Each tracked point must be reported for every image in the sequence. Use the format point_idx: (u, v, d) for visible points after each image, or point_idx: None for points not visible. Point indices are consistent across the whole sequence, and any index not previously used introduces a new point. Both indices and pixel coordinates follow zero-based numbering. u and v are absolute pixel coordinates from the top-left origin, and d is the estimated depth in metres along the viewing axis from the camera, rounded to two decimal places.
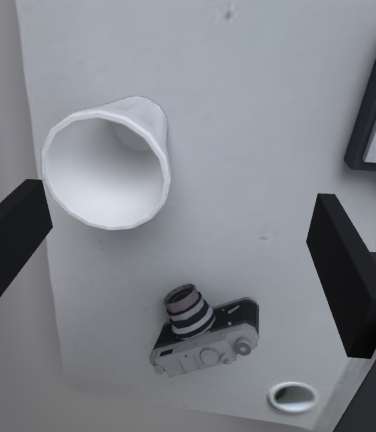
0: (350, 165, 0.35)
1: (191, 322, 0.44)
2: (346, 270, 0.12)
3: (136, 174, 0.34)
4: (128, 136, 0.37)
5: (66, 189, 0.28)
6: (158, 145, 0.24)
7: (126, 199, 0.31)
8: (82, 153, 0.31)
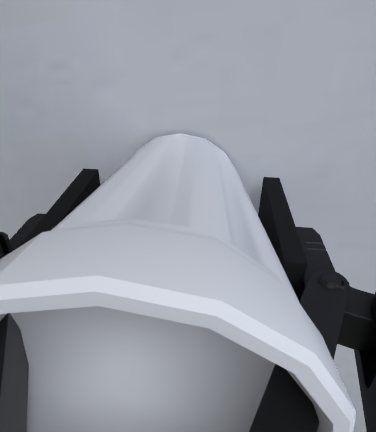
0: None
1: None
2: (274, 241, 0.13)
3: None
4: None
5: None
6: (335, 380, 0.06)
7: (172, 395, 0.13)
8: None
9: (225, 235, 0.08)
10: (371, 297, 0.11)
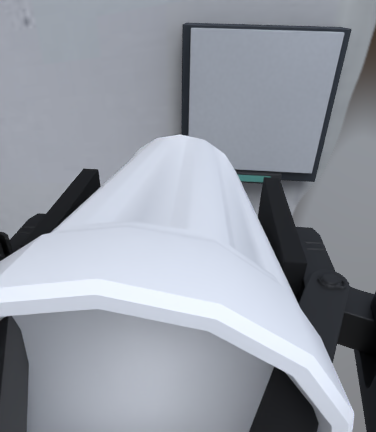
0: None
1: None
2: (274, 241, 0.13)
3: None
4: None
5: None
6: (333, 383, 0.06)
7: (172, 396, 0.13)
8: None
9: (224, 237, 0.08)
10: (371, 297, 0.11)
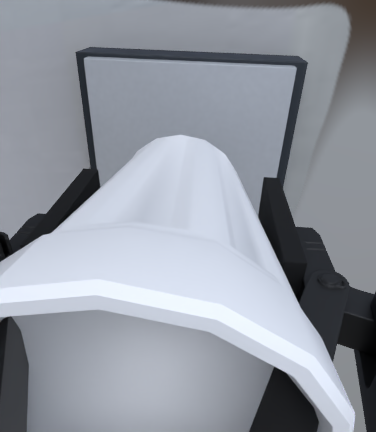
0: None
1: None
2: (274, 241, 0.13)
3: None
4: None
5: None
6: (334, 383, 0.06)
7: (172, 396, 0.13)
8: None
9: (225, 238, 0.08)
10: (371, 297, 0.11)
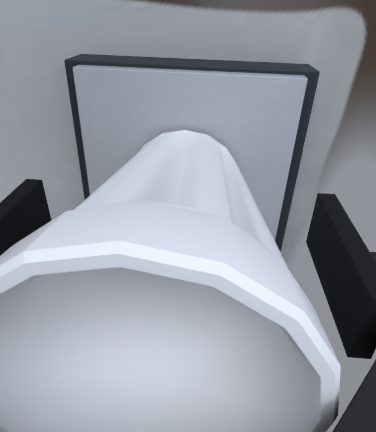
0: None
1: None
2: (346, 270, 0.12)
3: (188, 288, 0.17)
4: None
5: (36, 391, 0.11)
6: (322, 338, 0.07)
7: (177, 371, 0.14)
8: None
9: (226, 216, 0.09)
10: None
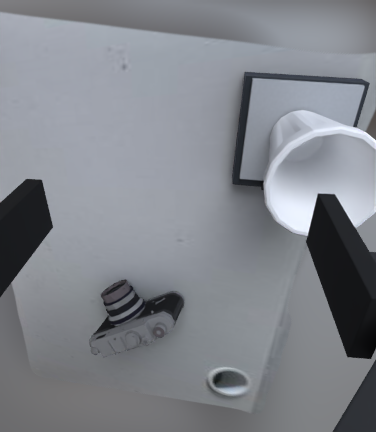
0: None
1: (121, 311, 0.53)
2: (346, 270, 0.12)
3: (306, 183, 0.36)
4: None
5: (274, 199, 0.30)
6: None
7: (313, 208, 0.33)
8: None
9: None
10: None
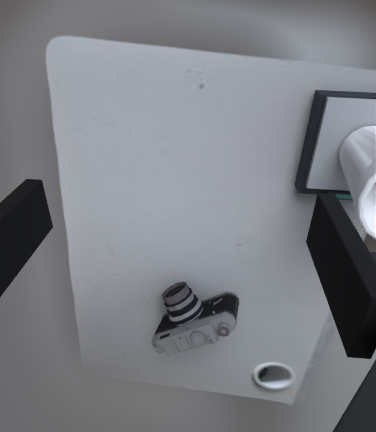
0: (297, 190, 0.47)
1: (183, 312, 0.56)
2: (346, 270, 0.12)
3: None
4: None
5: None
6: None
7: None
8: None
9: None
10: None
